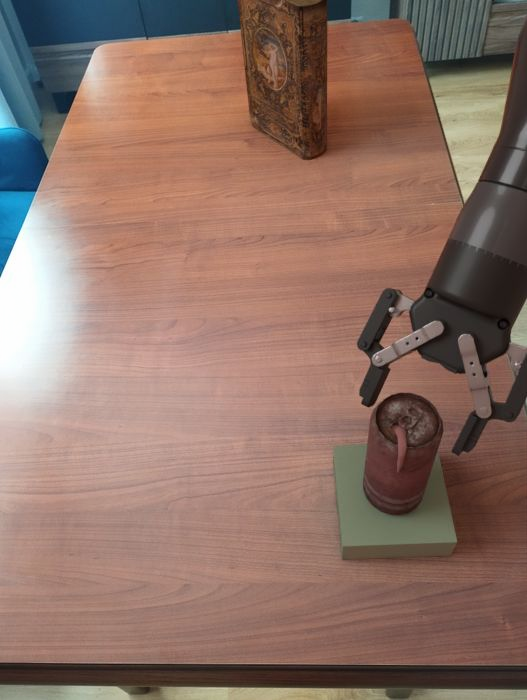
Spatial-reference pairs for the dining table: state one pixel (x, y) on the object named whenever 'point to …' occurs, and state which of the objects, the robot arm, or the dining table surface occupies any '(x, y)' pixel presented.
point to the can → (401, 452)
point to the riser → (389, 530)
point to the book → (287, 71)
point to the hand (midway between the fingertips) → (410, 428)
